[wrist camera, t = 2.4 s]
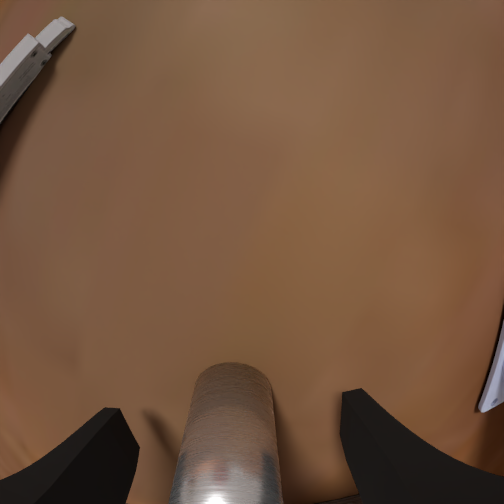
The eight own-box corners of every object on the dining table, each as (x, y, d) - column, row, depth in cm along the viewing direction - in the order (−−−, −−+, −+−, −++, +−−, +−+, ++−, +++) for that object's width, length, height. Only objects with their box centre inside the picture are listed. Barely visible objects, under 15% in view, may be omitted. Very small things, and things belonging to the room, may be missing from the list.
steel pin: (267, 358, 10) (286, 554, 3) (274, 415, 11) (291, 579, 4) (186, 365, 10) (135, 548, 3) (203, 420, 11) (179, 578, 4)
